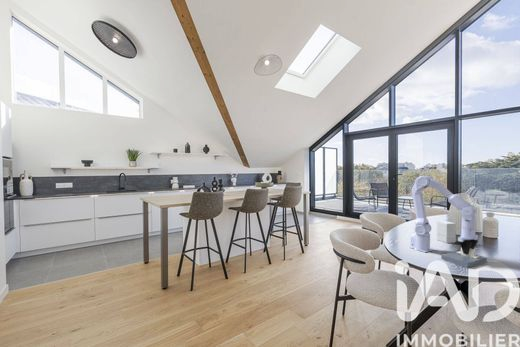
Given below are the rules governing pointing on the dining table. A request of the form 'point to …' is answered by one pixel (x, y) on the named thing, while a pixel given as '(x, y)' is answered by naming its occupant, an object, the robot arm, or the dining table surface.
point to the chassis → (463, 259)
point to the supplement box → (446, 231)
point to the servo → (471, 253)
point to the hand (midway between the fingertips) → (467, 253)
